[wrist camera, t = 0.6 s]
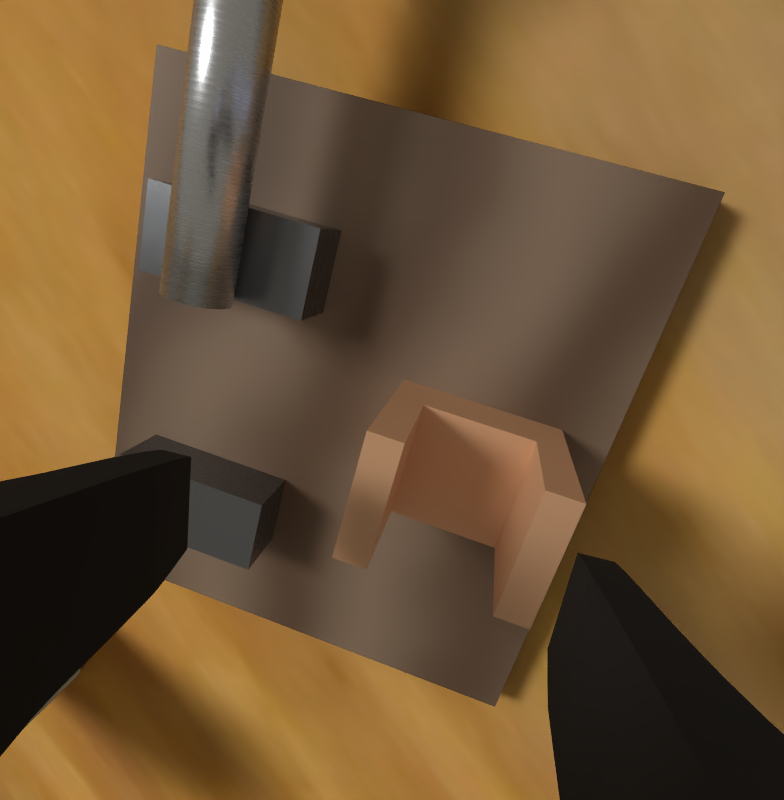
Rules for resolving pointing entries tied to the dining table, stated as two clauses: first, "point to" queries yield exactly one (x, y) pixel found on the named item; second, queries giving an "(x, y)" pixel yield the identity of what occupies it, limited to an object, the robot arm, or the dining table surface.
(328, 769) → the dining table surface
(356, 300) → the board
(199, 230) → the shaft
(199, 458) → the supports
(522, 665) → the dining table surface
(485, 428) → the bracket
